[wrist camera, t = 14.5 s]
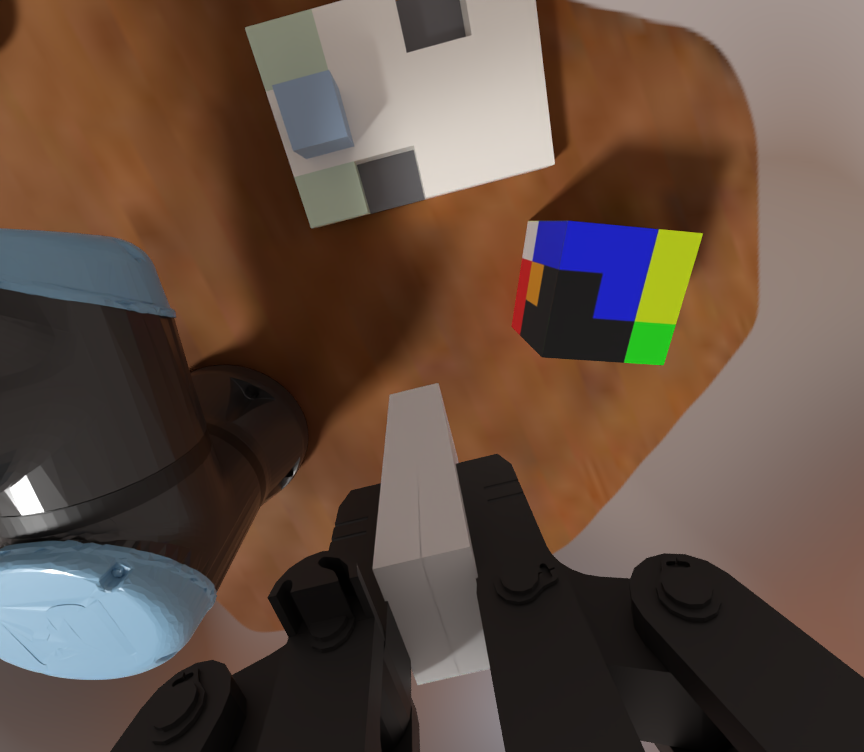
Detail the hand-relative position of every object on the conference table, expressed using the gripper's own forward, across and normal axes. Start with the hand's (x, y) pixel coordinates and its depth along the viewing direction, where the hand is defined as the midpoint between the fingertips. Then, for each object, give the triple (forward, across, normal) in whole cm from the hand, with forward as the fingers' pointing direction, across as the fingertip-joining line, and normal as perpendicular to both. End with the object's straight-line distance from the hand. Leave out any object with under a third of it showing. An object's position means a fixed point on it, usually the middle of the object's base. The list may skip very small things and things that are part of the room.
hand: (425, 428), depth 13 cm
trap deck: (+28, -4, -14) cm, 32 cm away
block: (+26, +4, -14) cm, 30 cm away
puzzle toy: (+29, -15, +3) cm, 33 cm away
